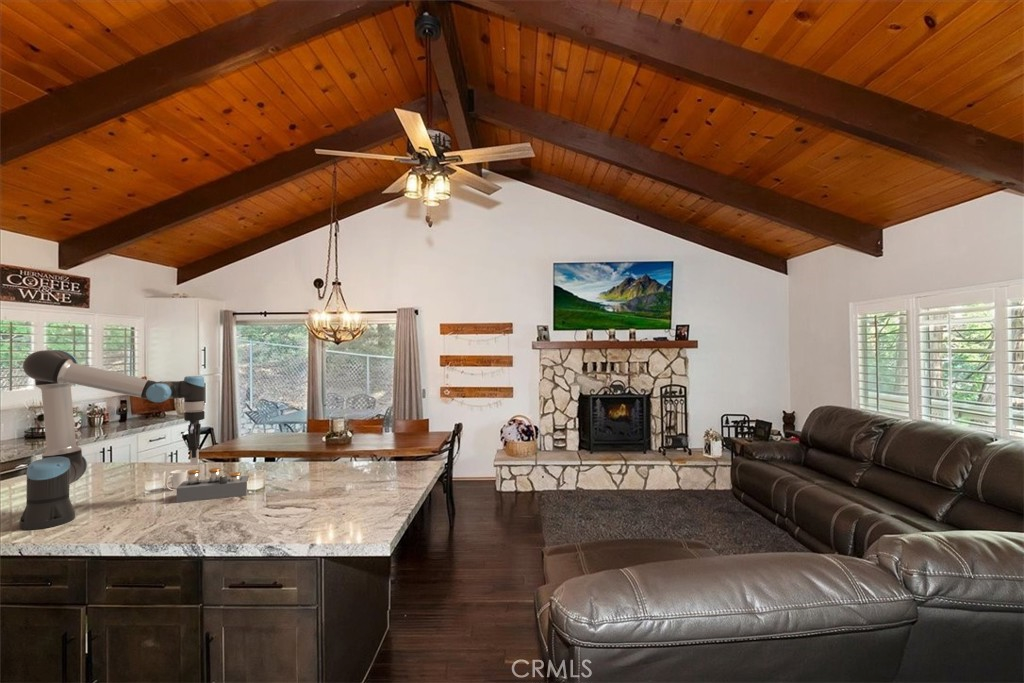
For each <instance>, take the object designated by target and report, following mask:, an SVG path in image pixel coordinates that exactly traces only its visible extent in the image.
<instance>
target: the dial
mask: <svg viewBox="0 0 1024 683" xmlns="http://www.w3.org/2000/svg"><path fill="white" fill-rule="evenodd" d="M227 478H228V475H220V484H226V483H227Z"/></svg>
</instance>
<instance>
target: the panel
mask: <svg viewBox="0 0 1024 683" xmlns="http://www.w3.org/2000/svg"><path fill="white" fill-rule="evenodd" d="M248 478H249V479H250V475H240V481H232V482H230V476H229V477H228V476H227V483H226V484H220V483H210V484H209V482H210V478H209V479H199V485H188V480H186V481H183V482H182V483H181V485H180V486H179V487H178V488H177V490H176V503H186V502H187V503H188V502H189V503H190V502H195V501H196V502H199V501H205V500H216V499H225V498H226V499H228V498H235V497H244V496H247V494H248V492H247V481H248Z"/></svg>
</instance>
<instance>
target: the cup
mask: <svg viewBox="0 0 1024 683" xmlns="http://www.w3.org/2000/svg"><path fill="white" fill-rule="evenodd" d="M187 471H189V470H188V469H177V470H172V471H170V472H169V476H168V477H167V478H166V480H165V484H164V486H165V487H166V488H167V489H169V490H171V491H177V488H178V487H179V486H180V485H181V483H182V482H183V481H187V479H188V473H187ZM169 479H170V483H171V486H172V488H170V487H169V485H168V482H169Z"/></svg>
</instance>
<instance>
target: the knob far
mask: <svg viewBox="0 0 1024 683" xmlns="http://www.w3.org/2000/svg"><path fill="white" fill-rule="evenodd" d="M240 476H242V472H241V471H237V472H230V473H229V477H230V482H232V481H240Z"/></svg>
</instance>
